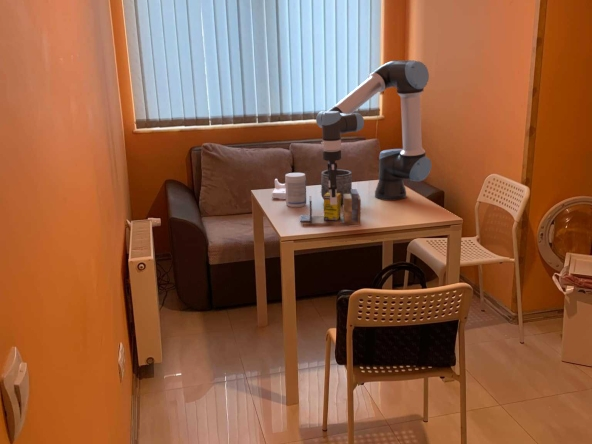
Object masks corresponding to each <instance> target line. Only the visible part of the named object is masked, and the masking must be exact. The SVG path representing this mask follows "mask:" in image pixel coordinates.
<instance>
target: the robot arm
mask: <svg viewBox="0 0 592 444" xmlns="http://www.w3.org/2000/svg"><path fill="white" fill-rule="evenodd" d="M429 80H430V73H429V70H428V68H427V65H426V64H424V62H422V61H419V60H413V59H412V60H409V59H408V60H399V59H398V60H391V61H388V62H385V63H383V64H381V65H380V66H378V68H376V69H374V70H373V71H372V72H370V73H369V74H368V78H367V79H365V80H364V81H363V82H361V84H360V85H358V86H357V87H355V89H353V90H352V91H350V92H349V93H348V94H346V96H344V98H341V100H339V101H338V102H337V103H336V104H334V105H333V106H332V107H330V108H329V109H328V110H321V111H318V113H317V115H316V117H315V118H316V119H315V121H316V125H317V126H318V127H319V128H321V132H322V133H321V135H322V136H321V137H322V138H321V139H322V141H321V142H320V144H321V145H322V160H323V161H328V163H326V168H327V170H328V174H329V176H328V177H329V178H328V180H330V181H329V193H330V205H337V182H336V174H337V169H338V163H337V162H336V161H340V160H341V159H342V151H341V149H342V134H343V135H344V134H349V133H355V132H356V133H357V132H359V131H361V130H362V129H363V128H364V125H365V119H364V116H363V115H362V114H361V113H359V112H355V111H357V110H358V109H359V108H360V107H362V106H363V105H365V103H367V102H368V101H369V100H371V98H373V97H374V96H376V95H377V94H378V93H382V92H384V91H385V90H387V89H389V88H396V94H398V96H399V97H400V109H401V110H400V113H401V135H402V148H393V149H392V148H391V149H384V150H382V151H380V153H379V155H378V156H379V157H378V158H379V159H378V182H377V186H376V187H375V191H374V197H375V198H377V199H379V200H384V201H399V200H403V199H406V198H407V190H406V187H405V184H404V179H405V180H408V181H411V182H422V181H425V179H427V177H428V176H429V174H430V172H431V169H432V161H431V159H430V158H429V157H427V154H426V150H425V149H424V148H423V141H422V139H423V137H422V136H423V135H422V110H421V109H422V108H421V107H422V106H421V95H422V94H423V92H424V91H425V90H424V88H425V87H426V86H427V85H428V82H429Z"/></svg>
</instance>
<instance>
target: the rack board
mask: <svg viewBox="0 0 592 444" xmlns="http://www.w3.org/2000/svg"><path fill="white" fill-rule="evenodd" d="M361 200H362V199H361V196H360V194H359V192H358V191H357V189H356V188H352V189H350V194H343V207H342V209H343V210H342V211H343V214H342V215H341V218H340V219H339V220H338V221H325V220H324V215H312V222H301V223H302V224H301V225H302V227H337V226H338V227H346V226H349V225H359V226H361V213H362V212H361V209H362V207H361V206H362V203H361Z"/></svg>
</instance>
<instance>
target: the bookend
mask: <svg viewBox="0 0 592 444" xmlns="http://www.w3.org/2000/svg"><path fill="white" fill-rule="evenodd" d="M308 199H309V214H300V219H299V221H300V223H302V222H312V216H313V212H312V211H313V210H312V208H313V206H312V202H313V201H312V195H309V198H308Z"/></svg>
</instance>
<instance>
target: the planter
mask: <svg viewBox="0 0 592 444" xmlns="http://www.w3.org/2000/svg"><path fill="white" fill-rule="evenodd" d="M352 174H353V173H352V171H350V170H347V169H341V168H340V169H338V168H337V174H336V182H337V193H341V207H342V206H343V194H350V189H353V187H352V186H353V184H352V183H353V182H352V181H353V178H352V177H353V176H352ZM320 175H321V180H320V181H321V184H320V185H321V186H320V187H321V189H320V193H321V194H320V195H321V197H322V199H323V200H324V195H325V194H326V193H327V192H329V181H330V180H328V178H329V177H328V176H329V174H328V169H326V170H325V169H324V170H322V171H321V174H320Z"/></svg>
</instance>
